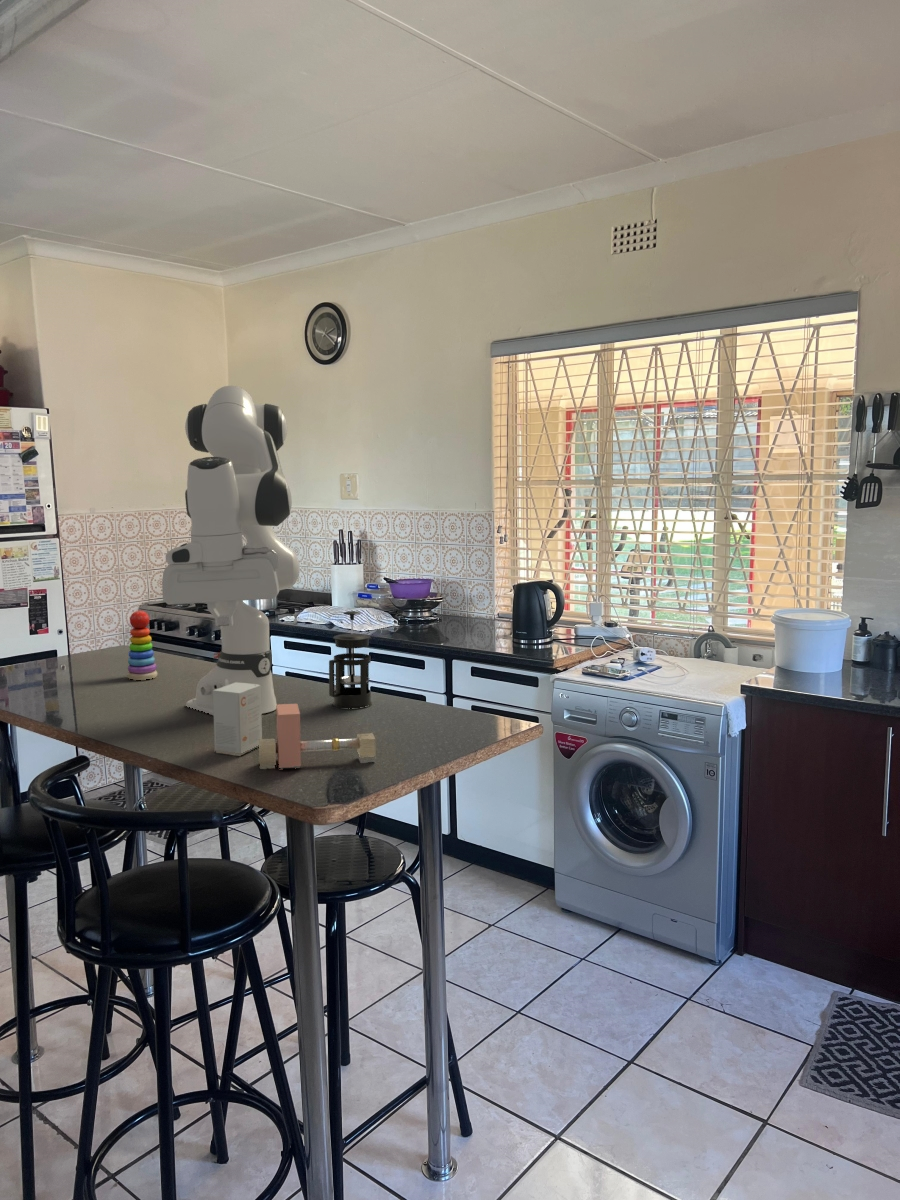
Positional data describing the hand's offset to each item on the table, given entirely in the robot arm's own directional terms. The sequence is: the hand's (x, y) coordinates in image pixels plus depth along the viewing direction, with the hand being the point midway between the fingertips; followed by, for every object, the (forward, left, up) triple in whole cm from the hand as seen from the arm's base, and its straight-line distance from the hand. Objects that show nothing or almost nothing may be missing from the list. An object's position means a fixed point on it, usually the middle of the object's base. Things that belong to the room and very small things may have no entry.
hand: (224, 625), depth 163 cm
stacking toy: (-80, +47, -28) cm, 97 cm away
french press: (-14, +55, -28) cm, 63 cm away
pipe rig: (+9, +15, -28) cm, 33 cm away
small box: (-10, +13, -28) cm, 33 cm away
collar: (+5, +11, -28) cm, 31 cm away
